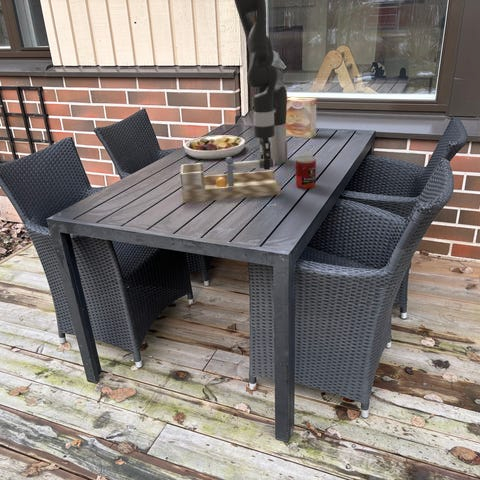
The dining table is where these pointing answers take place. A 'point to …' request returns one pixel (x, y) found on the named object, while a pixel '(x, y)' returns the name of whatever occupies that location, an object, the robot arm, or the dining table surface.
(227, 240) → the dining table surface
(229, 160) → the rod
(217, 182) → the ball
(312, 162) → the canned food
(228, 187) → the game board
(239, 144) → the bowl
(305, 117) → the coffeecake box
